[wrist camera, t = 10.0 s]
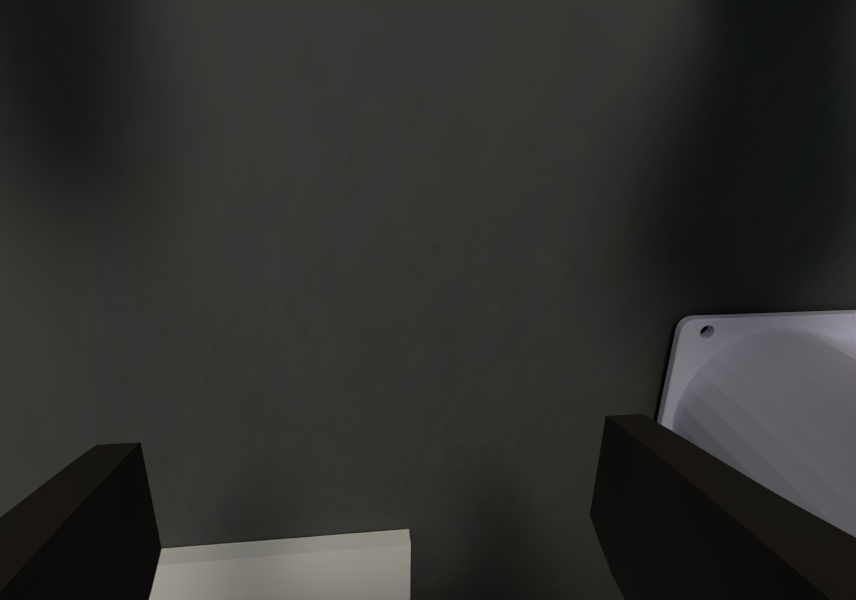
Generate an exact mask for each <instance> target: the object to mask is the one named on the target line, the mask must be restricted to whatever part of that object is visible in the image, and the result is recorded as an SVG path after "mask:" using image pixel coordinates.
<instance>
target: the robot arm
mask: <svg viewBox="0 0 856 600" xmlns="http://www.w3.org/2000/svg"><path fill="white" fill-rule="evenodd" d="M707 325H708V328H707V330H706V331H705V332H704V333H701V334H700V331H701V329H702V328H703V327H705V326H707ZM590 517H591V520H592V523H593V525H594V528H595V531H596V534H597V536H598V539H599V542H600V545H601V547H602V550H603V553H604V555H605V558H606V560H607V563H608V565H609V568H610V570H611V573H612V575H613V577H614V579H615V581H616V583H617V585H618V587H619V589H620V591H621V593H622V595H623V597H624V599H625V600H856V310H841V311H812V312H783V313H754V314H725V315H696V316H687V317H685V318H683V319H682V320H681V321H680V322H679V323H678V324H677V327H676V330H675V335H674V340H673V344H672V349H671V354H670V359H669V364H668V369H667V374H666V379H665V384H664V389H663V394H662V399H661V404H660V409H659V414H658V419H657V422H656V421H654V420H652V419H650V418H648V417H646V416H644V415H642V414H635V415H617V416H606V418H605V425H604V431H603V437H602V443H601V449H600V456H599V462H598V468H597V474H596V480H595V487H594V493H593V499H592V505H591V511H590ZM160 554H161V544H160V539H159V534H158V529H157V524H156V519H155V514H154V509H153V504H152V498H151V493H150V488H149V483H148V478H147V473H146V468H145V463H144V458H143V453H142V448H141V443H124V444H106V445H96V446H95V447H93V448H92V449H90V450H89V451H87V452H86V453H84V454H83V455H82V456H80V457H79V458H77V459H76V460H75V461H73V462H72V463H71V464H69V465H68V466H67V467H65V468H64V469H63V470H62V471H60V472H59V473H58V474H56V475H55V476H54V477H52V478H51V479H50V480H49V481H47V482H46V483H45V484H43V485H42V486H41V487H39V488H38V489H37V490H36V491H34V492H33V493H32V494H30V495H29V496H28V497H27V498H25V499H24V500H23V501H21V502H20V503H19V504H17V505H16V506H15V507H13V508H12V509H11V510H10V511H8V512H7V513H6V514H4V515H3V516H2V517H0V600H149V597H150V594H151V590H152V586H153V582H154V578H155V574H156V570H157V566H158V562H159V558H160Z"/></svg>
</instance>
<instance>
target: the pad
mask: <svg viewBox="0 0 856 600" xmlns="http://www.w3.org/2000/svg"><path fill="white" fill-rule="evenodd" d="M410 564H411V542H410V535H409V529H403V530H391V531H378V532H366V533H353V534H340V535H328V536H315V537H302V538H290V539H277V540H264V541H252V542H239V543H227V544H214V545H201V546H189V547H176V548H163V549H161V554H160V558H159V562H158V566H157V570H156V574H155V578H154V582H153V586H152V590H151V594H150V597H149V600H410Z"/></svg>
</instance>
